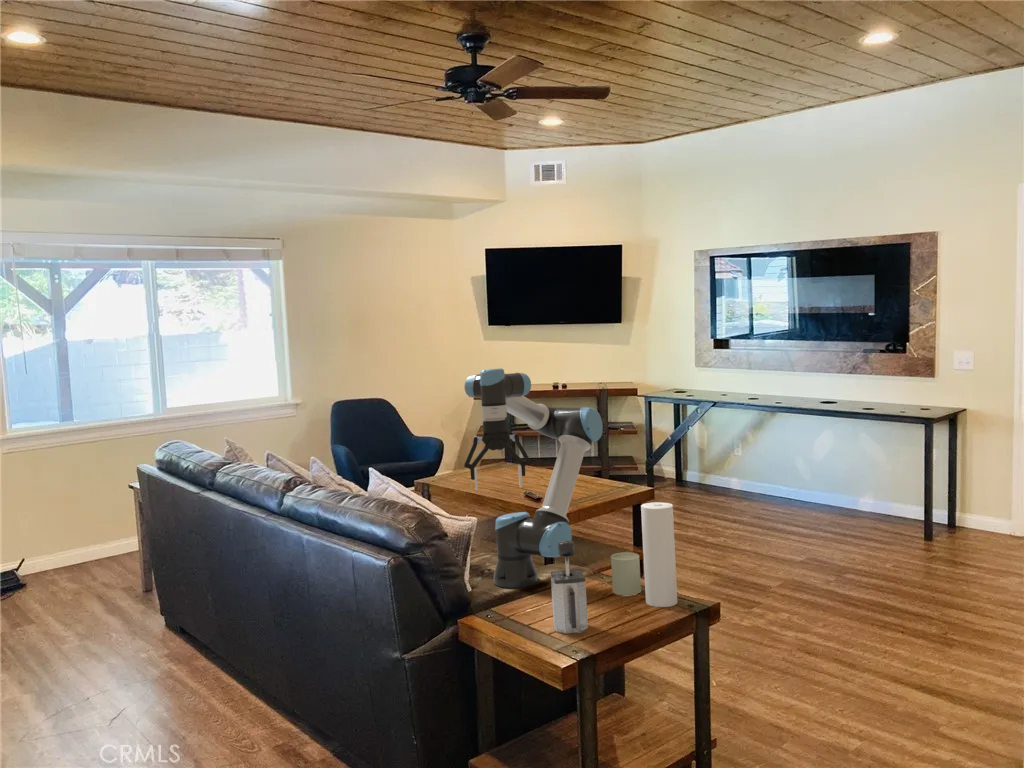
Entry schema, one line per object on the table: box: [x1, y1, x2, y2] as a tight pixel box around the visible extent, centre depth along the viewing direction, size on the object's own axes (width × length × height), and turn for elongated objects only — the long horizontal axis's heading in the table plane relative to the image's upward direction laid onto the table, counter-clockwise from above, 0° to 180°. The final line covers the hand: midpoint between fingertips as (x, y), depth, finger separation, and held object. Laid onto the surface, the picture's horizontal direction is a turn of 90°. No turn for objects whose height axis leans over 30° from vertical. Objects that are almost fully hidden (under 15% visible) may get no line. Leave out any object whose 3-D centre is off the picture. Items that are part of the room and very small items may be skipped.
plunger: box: [558, 540, 575, 576], centre depth 214 cm, size 7×7×20 cm
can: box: [610, 551, 642, 595], centre depth 243 cm, size 9×9×12 cm
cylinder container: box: [640, 501, 678, 608], centre depth 231 cm, size 9×9×30 cm
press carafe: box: [550, 569, 589, 635], centre depth 213 cm, size 12×10×15 cm
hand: (498, 488), depth 234 cm, fingers open, 13 cm apart
